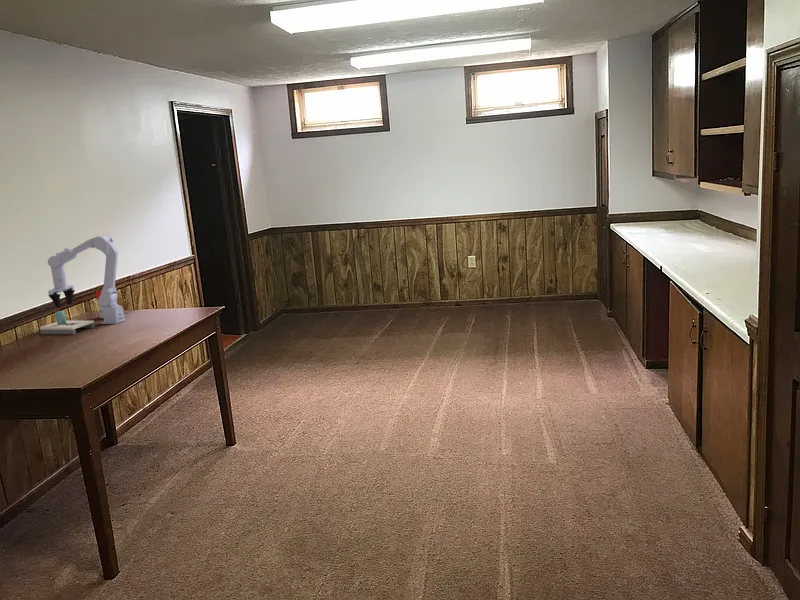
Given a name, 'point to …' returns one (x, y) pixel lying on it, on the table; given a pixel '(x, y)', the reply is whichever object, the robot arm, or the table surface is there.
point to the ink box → (99, 304)
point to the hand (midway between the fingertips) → (64, 305)
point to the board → (66, 327)
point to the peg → (60, 318)
